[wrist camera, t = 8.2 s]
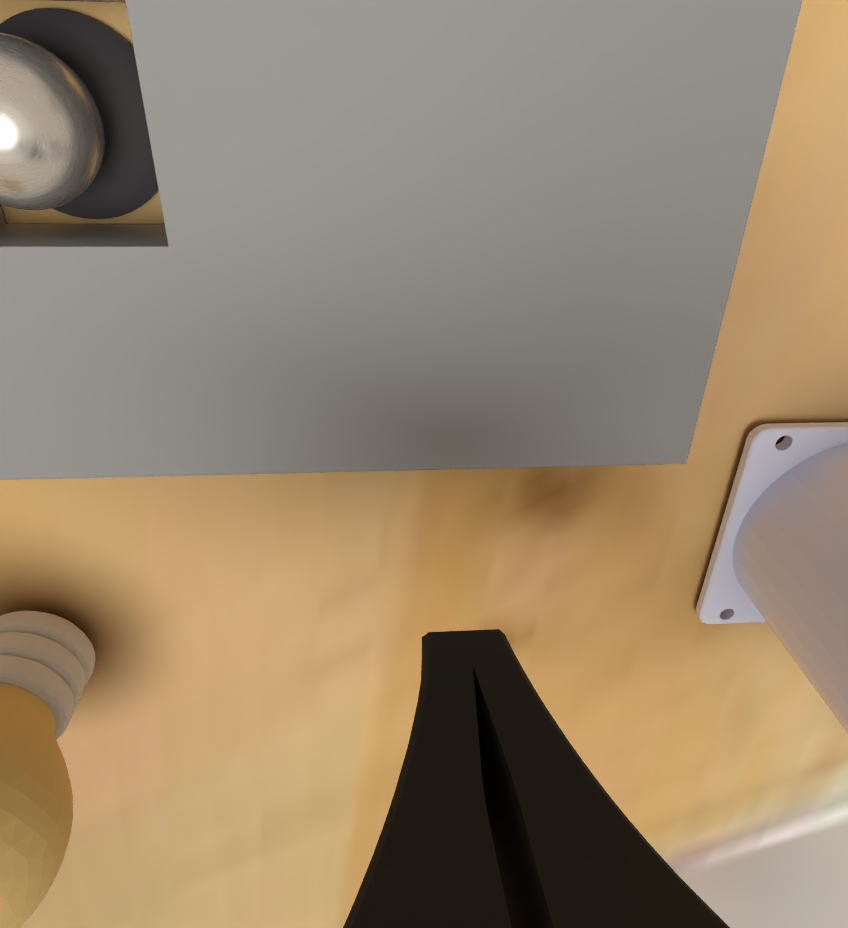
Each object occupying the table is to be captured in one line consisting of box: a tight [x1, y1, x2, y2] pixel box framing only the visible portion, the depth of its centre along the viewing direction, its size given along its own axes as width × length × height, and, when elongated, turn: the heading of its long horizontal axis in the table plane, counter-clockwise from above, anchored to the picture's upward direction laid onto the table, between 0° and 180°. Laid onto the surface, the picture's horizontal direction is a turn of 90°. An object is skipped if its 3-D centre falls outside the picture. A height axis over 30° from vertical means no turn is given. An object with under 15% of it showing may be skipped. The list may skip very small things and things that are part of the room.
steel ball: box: [0, 33, 105, 210], centre depth 13 cm, size 3×3×3 cm
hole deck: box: [0, 0, 802, 480], centre depth 14 cm, size 20×16×2 cm
